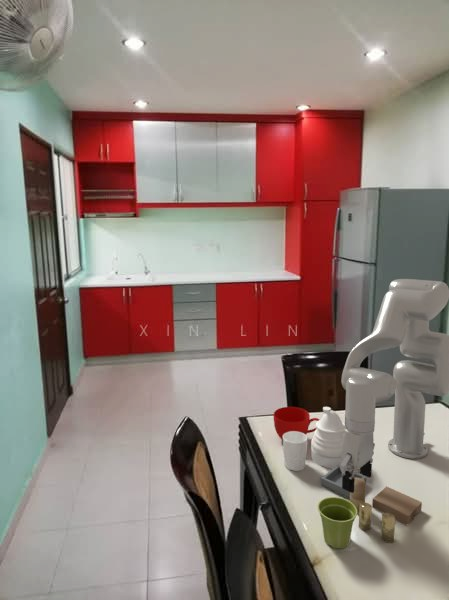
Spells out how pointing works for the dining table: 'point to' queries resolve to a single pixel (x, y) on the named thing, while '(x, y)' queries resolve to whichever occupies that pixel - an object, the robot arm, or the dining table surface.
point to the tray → (337, 481)
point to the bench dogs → (387, 522)
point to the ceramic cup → (292, 420)
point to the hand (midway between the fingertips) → (356, 482)
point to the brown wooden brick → (397, 505)
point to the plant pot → (337, 520)
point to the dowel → (358, 493)
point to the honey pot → (328, 439)
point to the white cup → (294, 450)
